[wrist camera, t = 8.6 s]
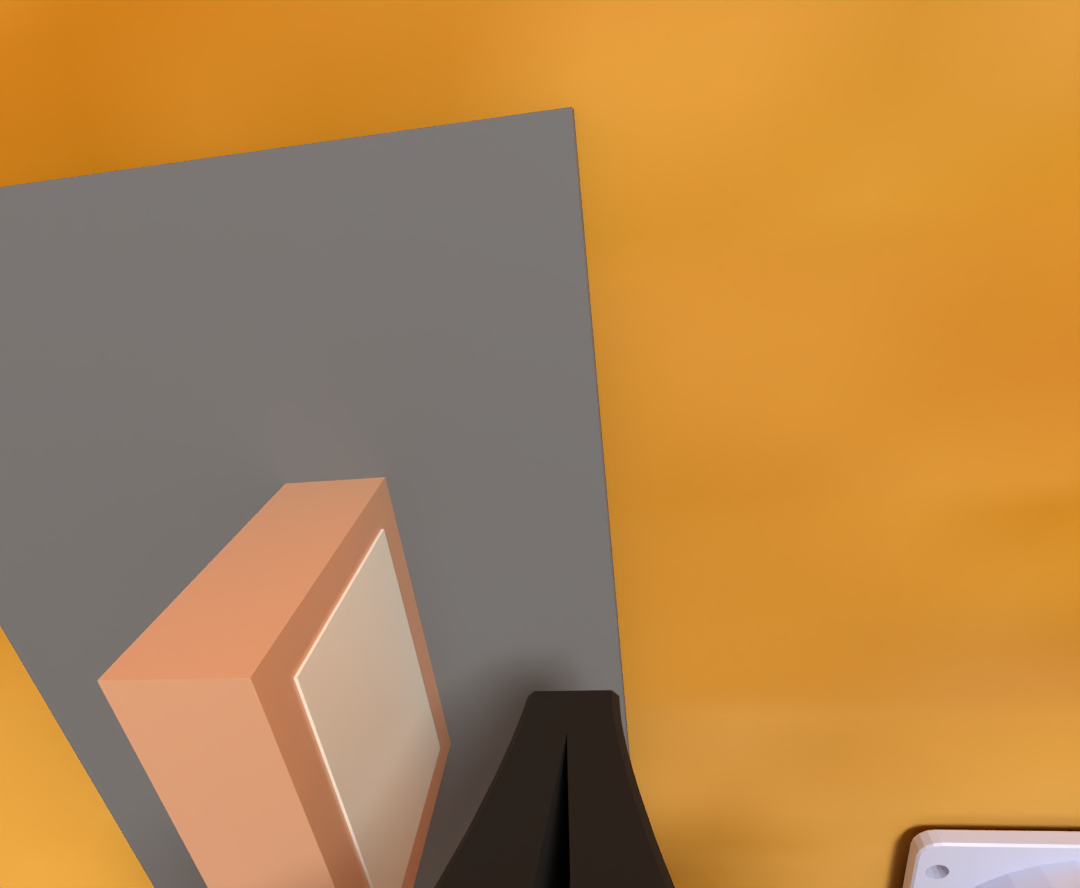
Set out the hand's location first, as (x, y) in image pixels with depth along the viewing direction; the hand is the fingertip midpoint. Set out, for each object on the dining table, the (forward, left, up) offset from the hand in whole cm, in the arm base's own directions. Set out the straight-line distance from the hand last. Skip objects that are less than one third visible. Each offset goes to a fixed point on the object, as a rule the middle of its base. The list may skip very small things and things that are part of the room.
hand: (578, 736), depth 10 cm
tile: (0, +4, -3) cm, 5 cm away
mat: (-1, +6, -4) cm, 7 cm away
